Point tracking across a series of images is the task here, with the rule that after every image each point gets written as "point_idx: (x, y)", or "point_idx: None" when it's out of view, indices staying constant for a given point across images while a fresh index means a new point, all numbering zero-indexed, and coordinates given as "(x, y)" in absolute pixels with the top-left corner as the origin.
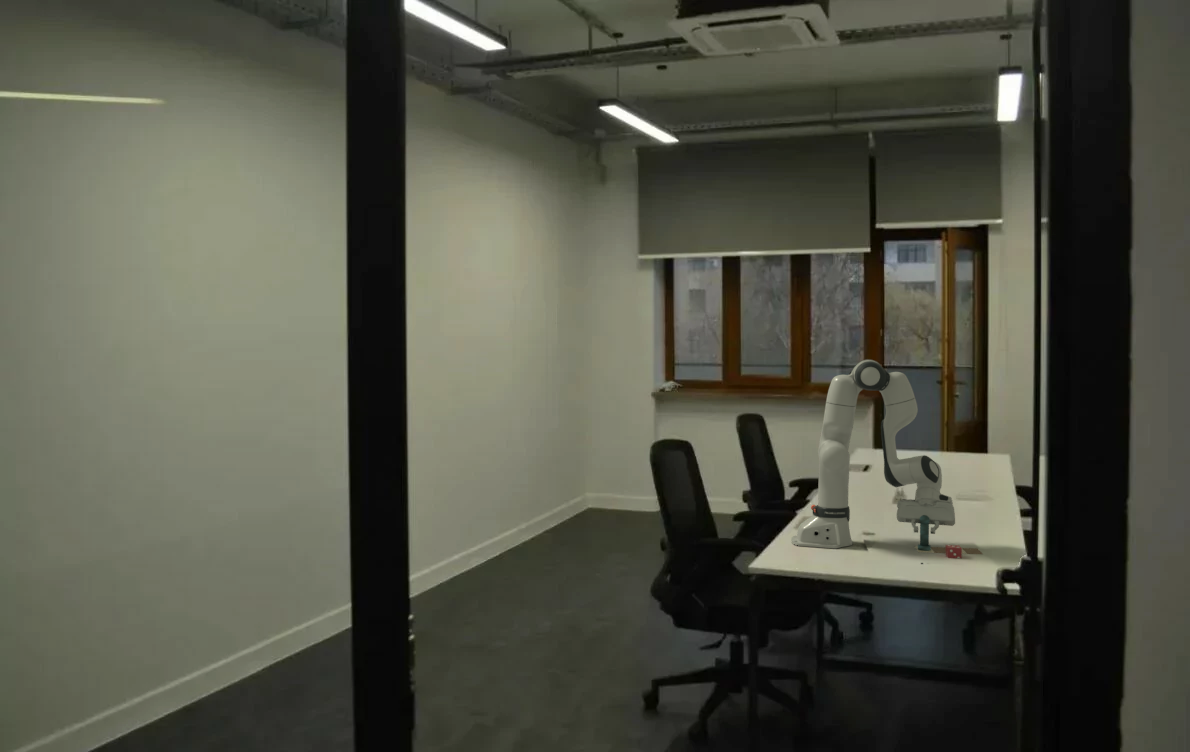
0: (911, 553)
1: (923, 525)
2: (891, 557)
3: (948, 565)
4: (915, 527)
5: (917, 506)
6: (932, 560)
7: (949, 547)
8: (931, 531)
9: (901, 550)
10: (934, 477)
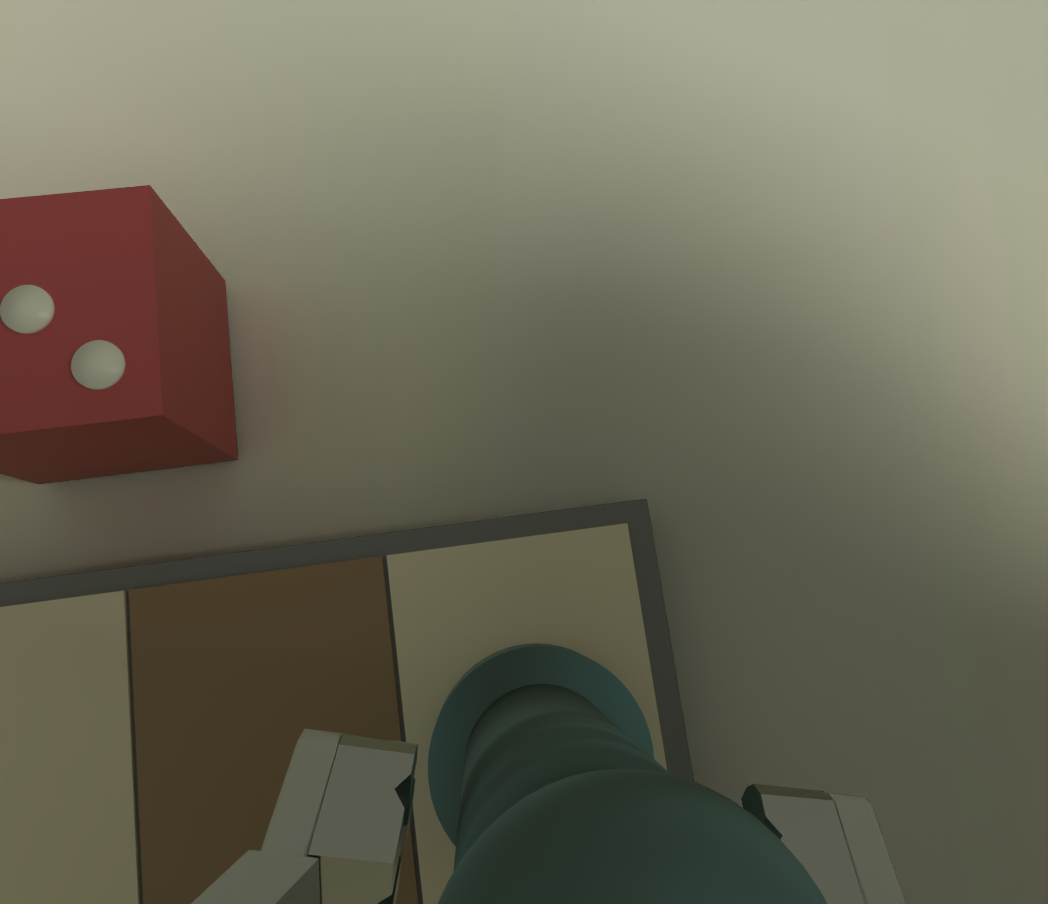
0: (718, 641)
1: (634, 760)
2: (962, 315)
3: (248, 65)
4: (847, 865)
5: None
6: (434, 281)
7: (120, 220)
8: (390, 742)
9: None
10: None
